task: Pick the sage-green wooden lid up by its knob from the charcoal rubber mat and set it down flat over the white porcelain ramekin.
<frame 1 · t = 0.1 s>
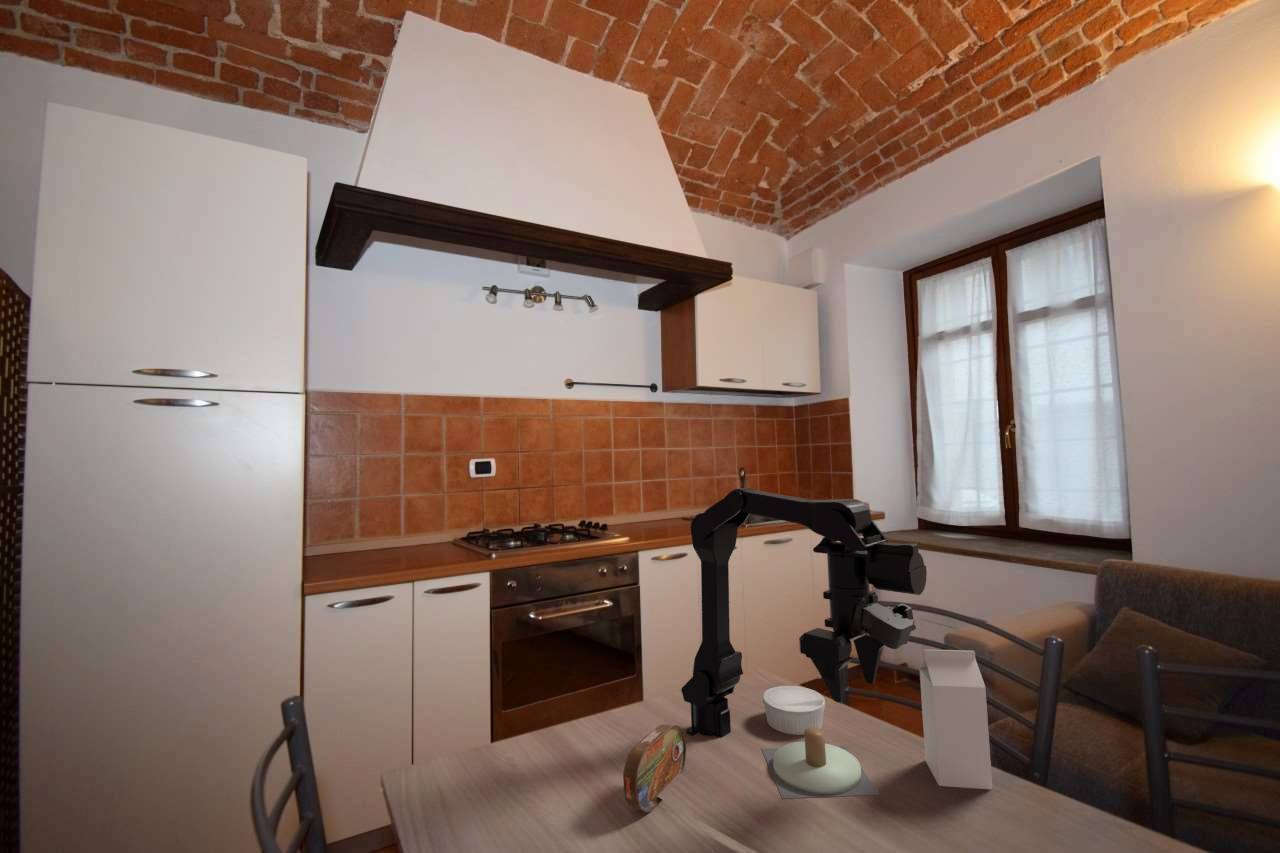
hand: (854, 692, 85), 14 cm above the table, tool pointing down, fingers open, 9 cm apart
tin: (656, 795, 85), on the table
ramekin: (794, 728, 105), on the table
lid: (816, 770, 89), point 1 cm above the table, touching mat
mat: (816, 775, 89), on the table
milk carton: (957, 780, 86), on the table
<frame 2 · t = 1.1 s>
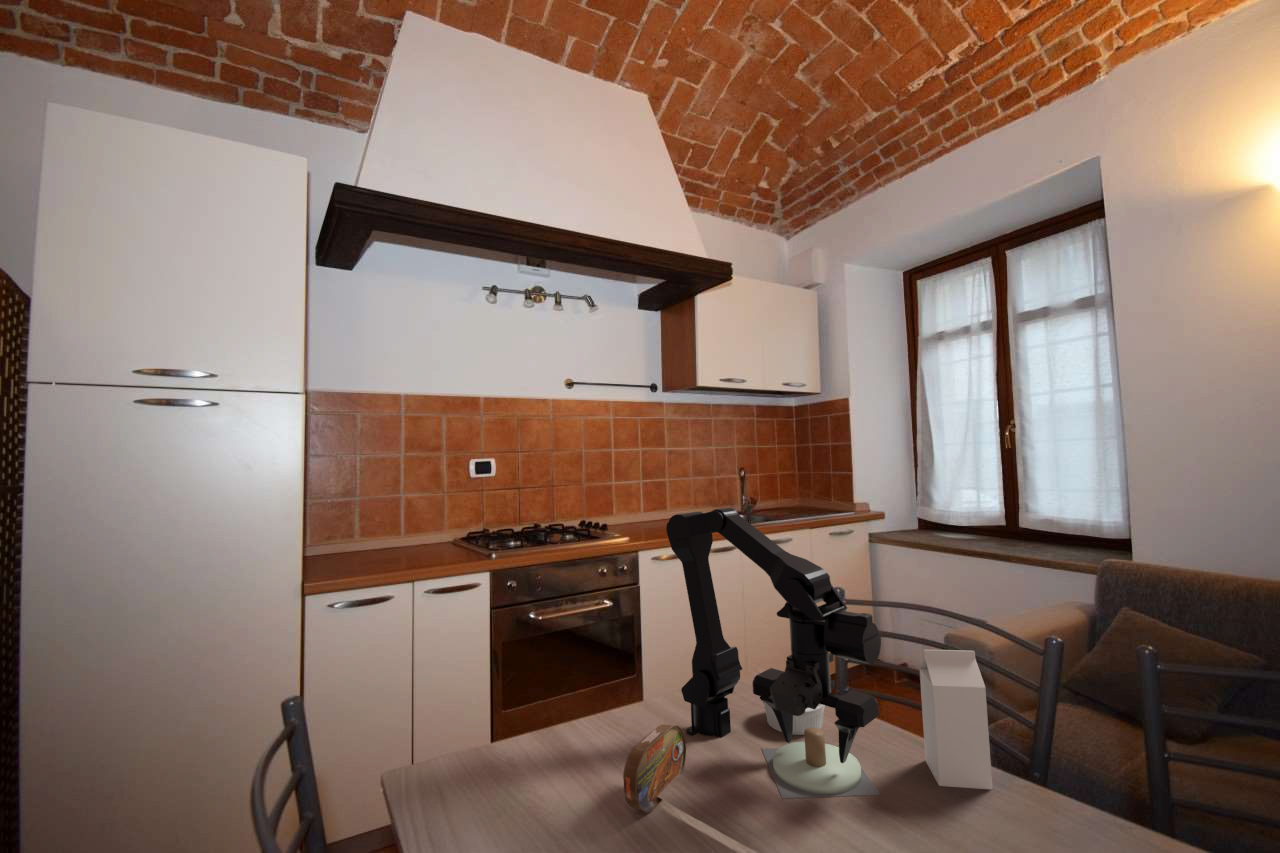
hand: (814, 751, 89), 4 cm above the table, tool pointing down, fingers open, 9 cm apart
nothing on the table moved.
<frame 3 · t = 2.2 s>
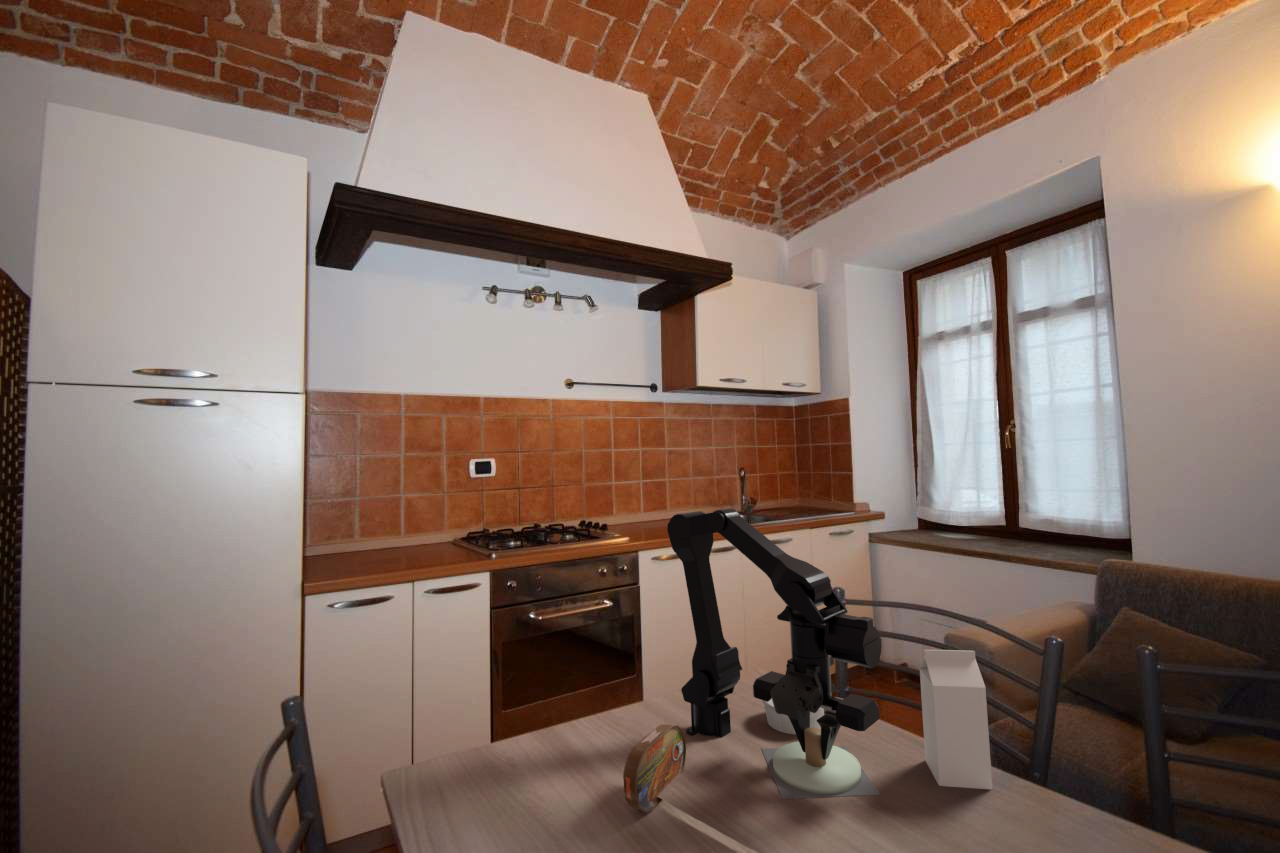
hand: (815, 755, 89), 3 cm above the table, tool pointing down, fingers closed on lid, 3 cm apart
lid: (816, 769, 89), point 1 cm above the table, touching gripper, mat
everything else where it was.
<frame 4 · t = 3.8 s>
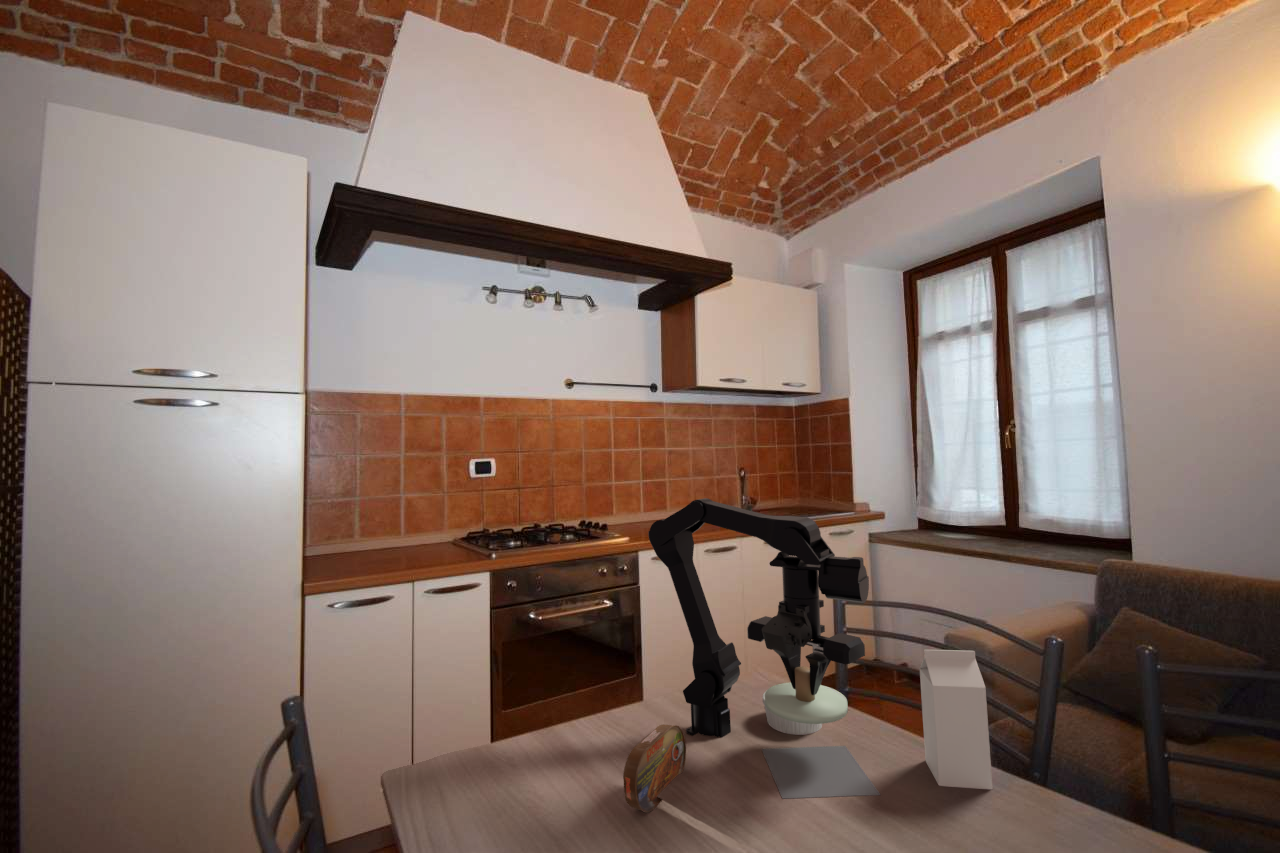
hand: (804, 691, 94), 11 cm above the table, tool pointing down, fingers closed on lid, 3 cm apart
lid: (805, 705, 94), point 9 cm above the table, touching gripper
everything else where it was.
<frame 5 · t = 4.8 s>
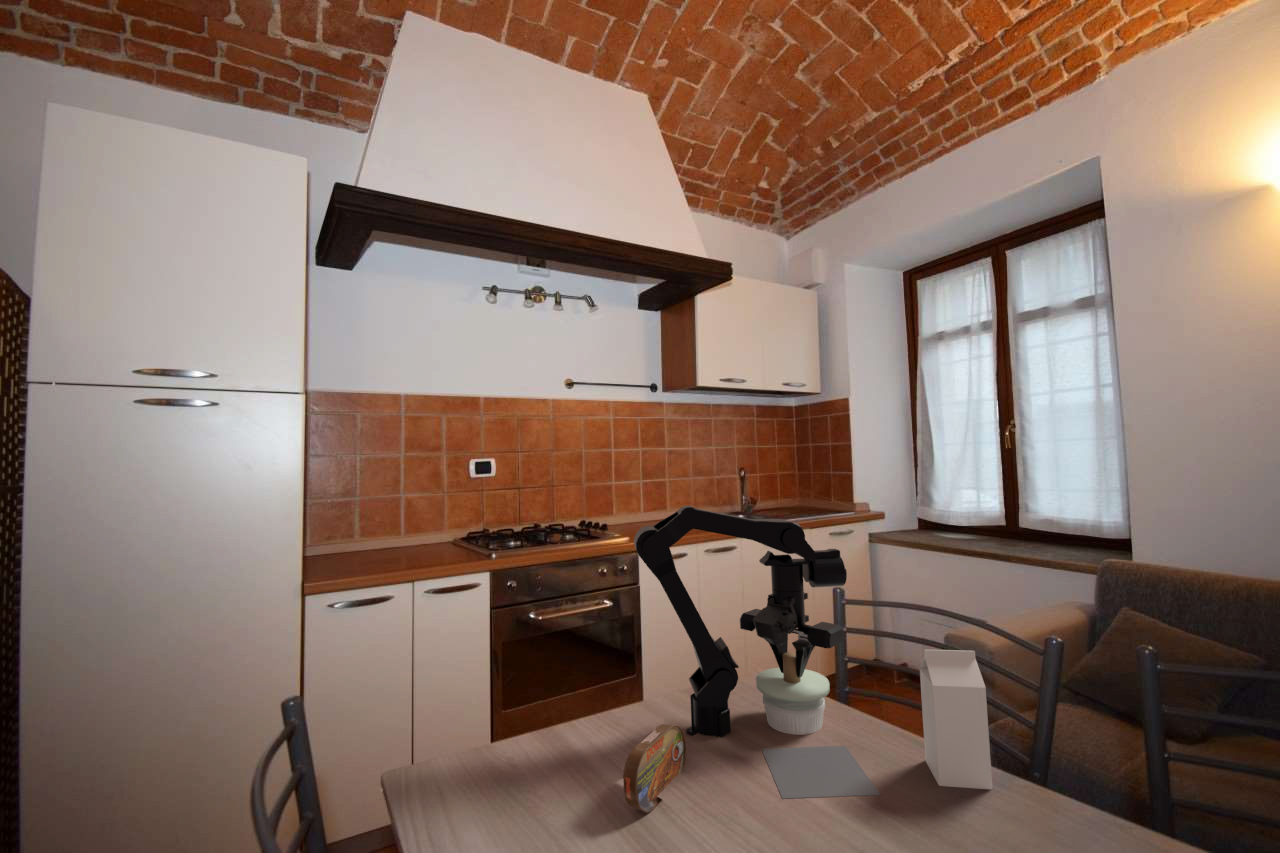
hand: (791, 674, 105), 9 cm above the table, tool pointing down, fingers closed on lid, 3 cm apart
lid: (792, 686, 105), point 7 cm above the table, touching gripper
everything else where it was.
when the fingers open (8 cm above the table, at t = 5.5 s): lid drops 1 cm, resting on ramekin.
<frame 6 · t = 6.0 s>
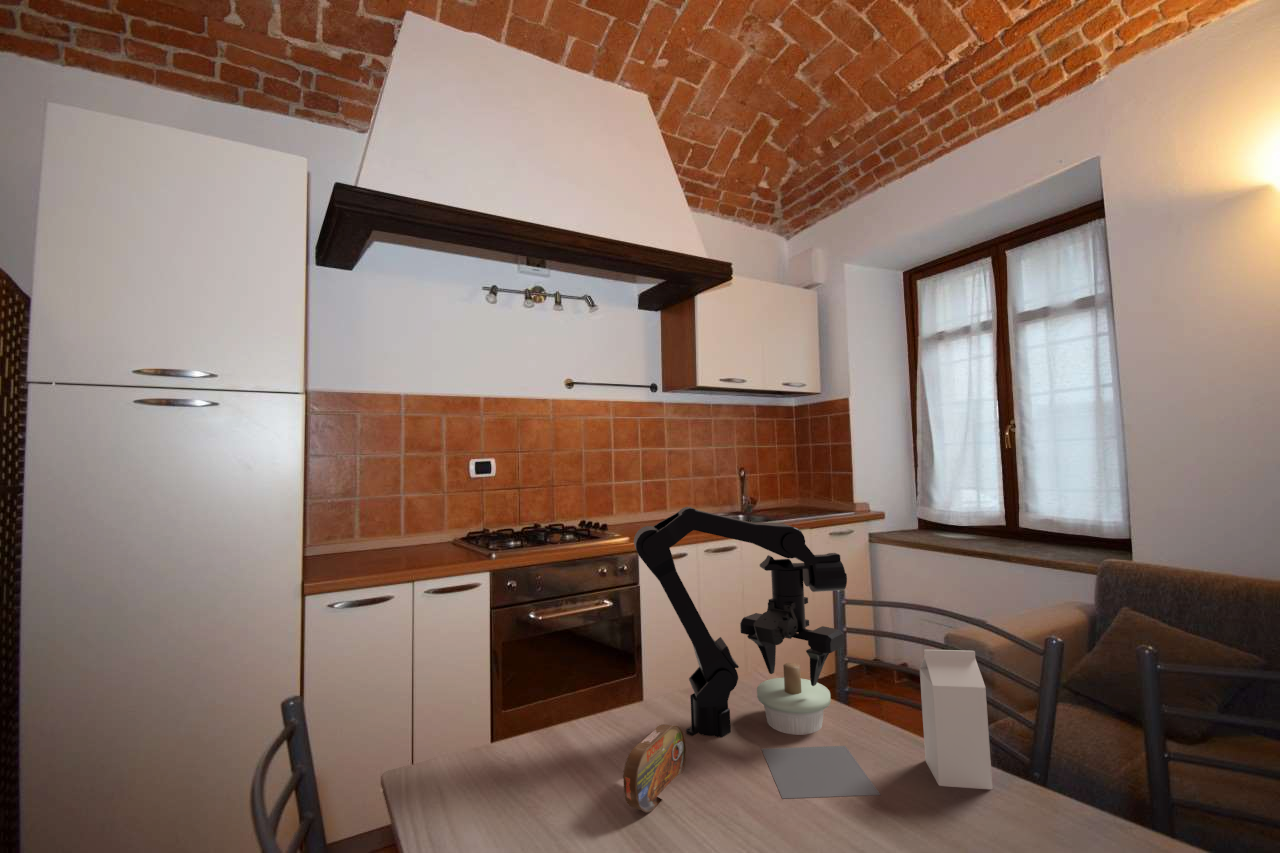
hand: (792, 679, 105), 8 cm above the table, tool pointing down, fingers open, 8 cm apart
ramekin: (794, 728, 105), on the table, touching lid
lid: (793, 697, 105), point 5 cm above the table, touching ramekin
everything else where it was.
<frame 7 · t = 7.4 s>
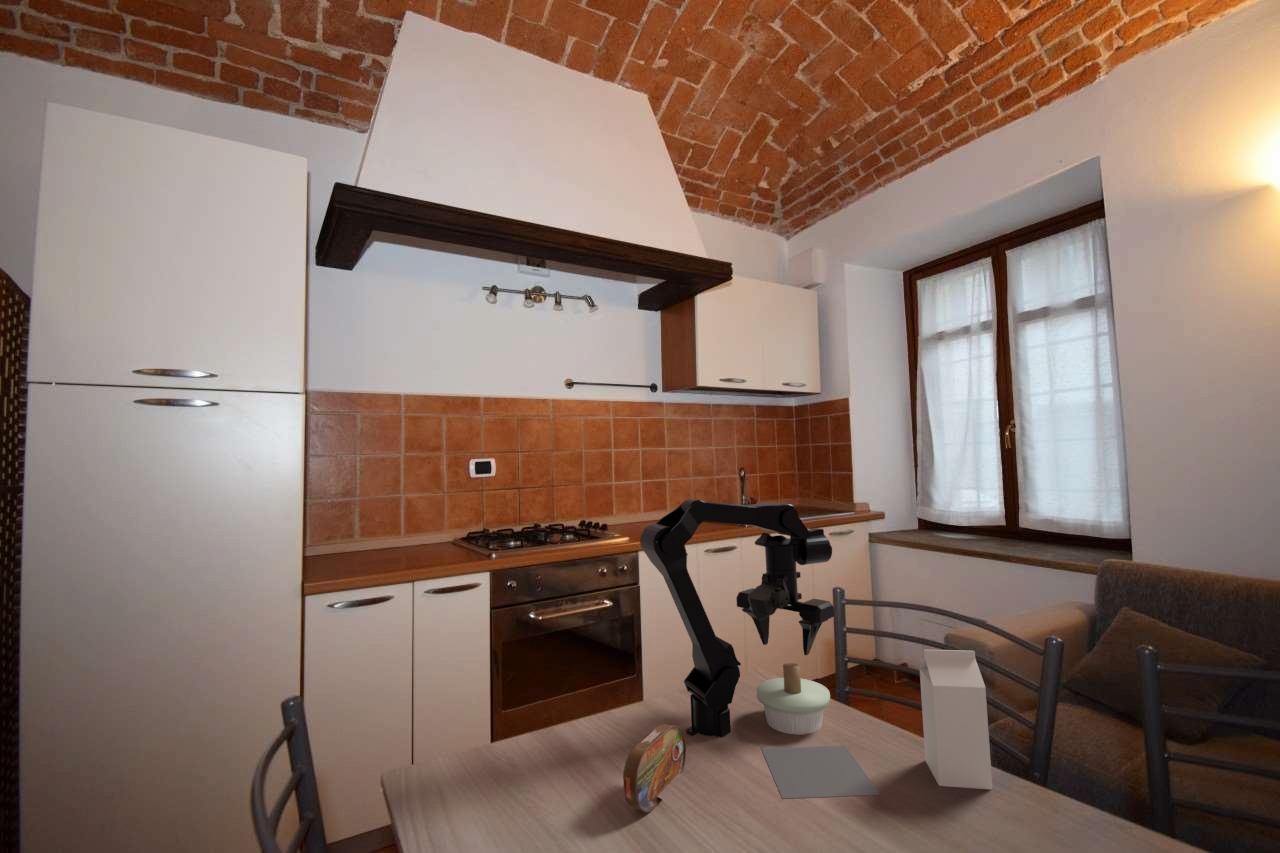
hand: (785, 649, 111), 12 cm above the table, tool pointing down, fingers open, 9 cm apart
nothing on the table moved.
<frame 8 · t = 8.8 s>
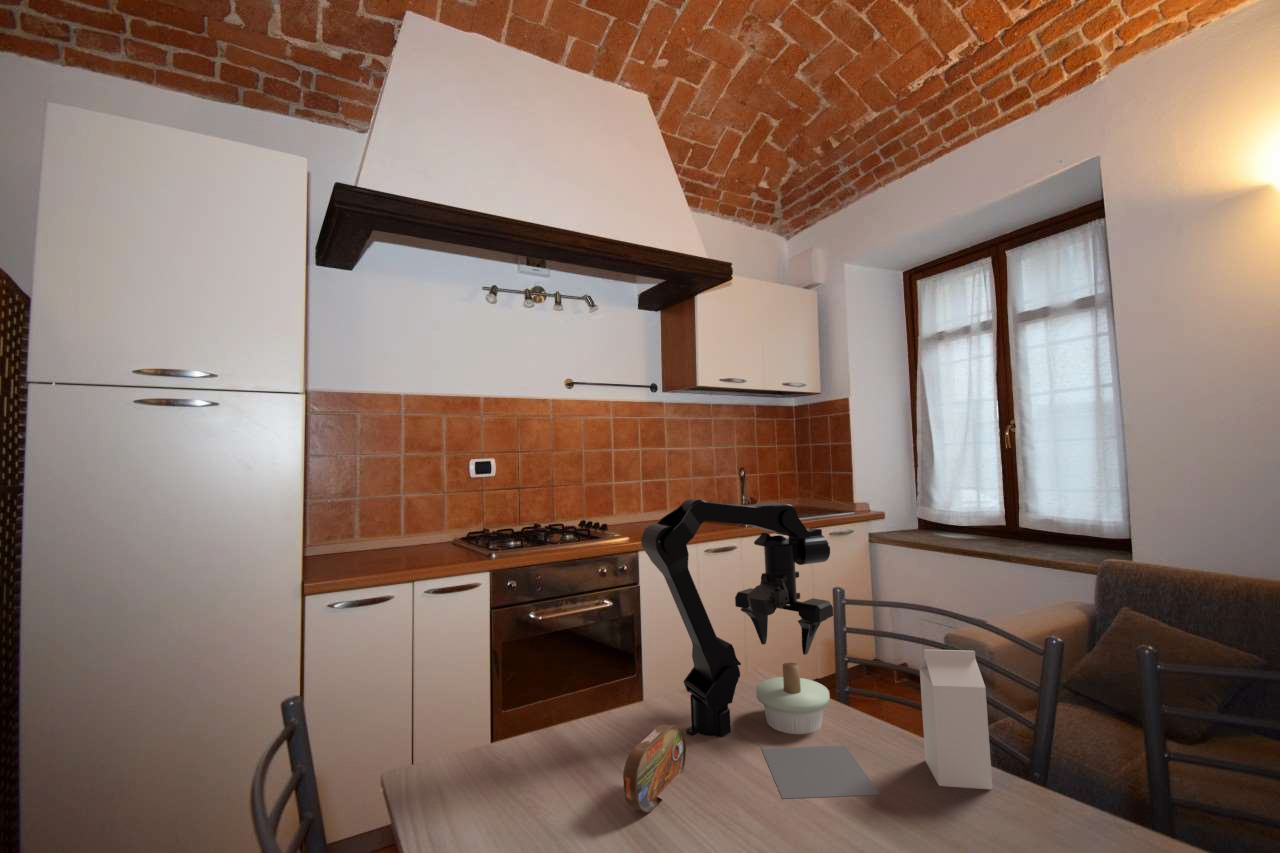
hand: (784, 649, 111), 12 cm above the table, tool pointing down, fingers open, 9 cm apart
nothing on the table moved.
at the end: lid 0.1 cm from the ramekin (horizontally); lid point 5.1 cm above the table; lid tilted 0° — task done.
